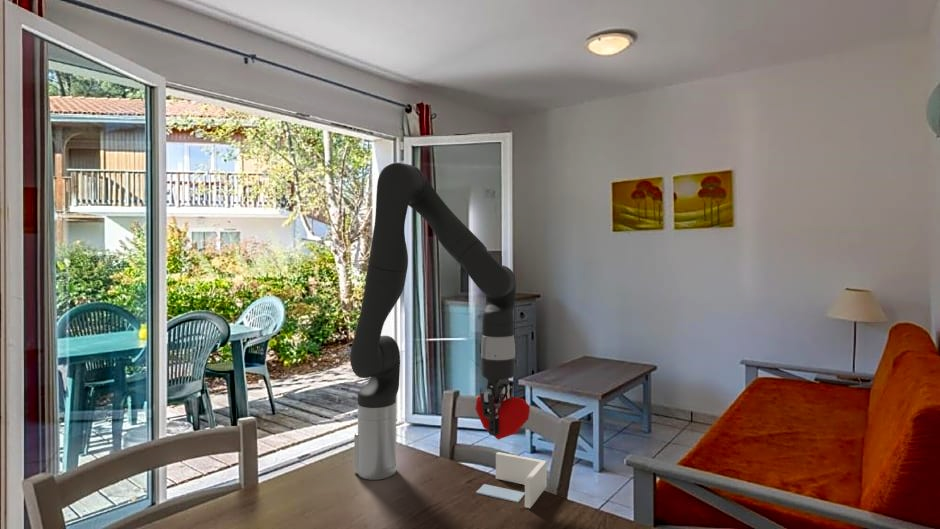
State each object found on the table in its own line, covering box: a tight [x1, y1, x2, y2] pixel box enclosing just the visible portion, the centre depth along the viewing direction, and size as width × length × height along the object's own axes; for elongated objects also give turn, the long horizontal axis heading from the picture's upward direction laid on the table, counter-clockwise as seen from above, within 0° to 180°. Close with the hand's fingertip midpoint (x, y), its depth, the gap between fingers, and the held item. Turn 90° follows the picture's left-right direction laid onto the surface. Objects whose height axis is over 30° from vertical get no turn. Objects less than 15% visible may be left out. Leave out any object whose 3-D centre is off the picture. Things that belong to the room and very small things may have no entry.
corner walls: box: [495, 451, 548, 509], centre depth 118 cm, size 12×11×6 cm
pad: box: [475, 483, 525, 503], centre depth 117 cm, size 10×4×1 cm, turn 64°
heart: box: [475, 394, 531, 440], centre depth 116 cm, size 12×4×10 cm, turn 79°
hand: (498, 431), depth 117 cm, fingers closed on heart, 4 cm apart
